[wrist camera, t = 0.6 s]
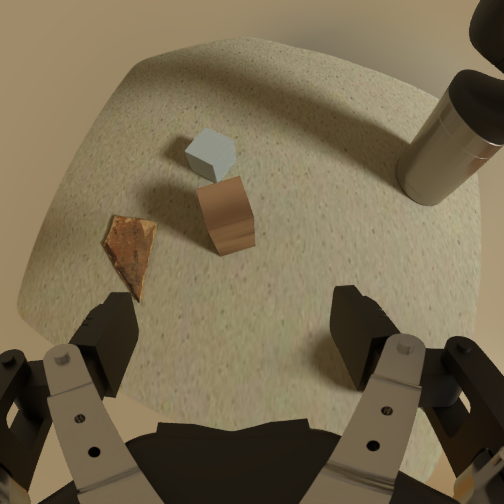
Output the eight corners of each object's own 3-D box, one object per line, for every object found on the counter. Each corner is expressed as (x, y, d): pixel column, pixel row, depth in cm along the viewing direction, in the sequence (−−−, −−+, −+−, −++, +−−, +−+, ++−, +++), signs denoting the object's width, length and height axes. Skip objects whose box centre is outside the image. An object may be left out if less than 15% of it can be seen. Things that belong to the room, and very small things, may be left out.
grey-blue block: (210, 147, 42) (205, 126, 37) (236, 160, 41) (233, 139, 36) (192, 170, 41) (184, 151, 36) (217, 184, 40) (212, 165, 35)
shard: (143, 304, 37) (138, 302, 35) (95, 292, 37) (89, 290, 35) (161, 225, 39) (157, 220, 38) (114, 218, 40) (109, 213, 38)
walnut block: (211, 224, 39) (196, 189, 29) (244, 213, 39) (239, 175, 29) (220, 256, 38) (207, 230, 28) (255, 245, 38) (253, 215, 28)
